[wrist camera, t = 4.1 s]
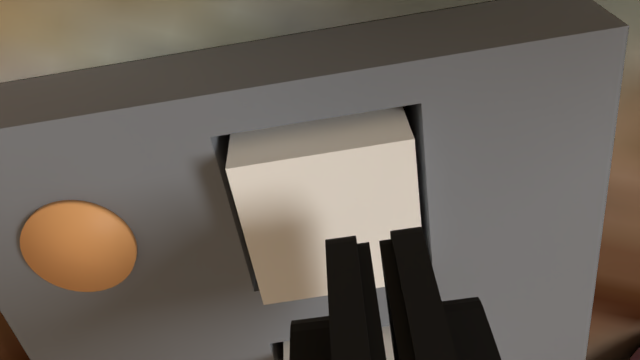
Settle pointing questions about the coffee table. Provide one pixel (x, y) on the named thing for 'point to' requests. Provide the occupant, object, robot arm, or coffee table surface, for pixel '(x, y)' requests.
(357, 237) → the button
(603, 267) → the coffee table surface
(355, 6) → the coffee table surface
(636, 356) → the pink curved piece
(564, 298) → the button board
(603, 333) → the coffee table surface
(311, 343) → the robot arm
